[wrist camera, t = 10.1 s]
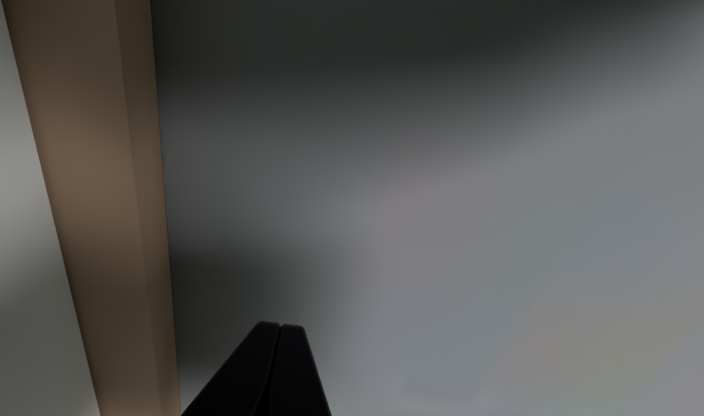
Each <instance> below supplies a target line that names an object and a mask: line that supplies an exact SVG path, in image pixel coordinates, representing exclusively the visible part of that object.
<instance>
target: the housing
mask: <svg viewBox="0 0 704 416" xmlns="http://www.w3.org/2000/svg"><path fill="white" fill-rule="evenodd" d="M0 416H100V412H99V408H98V404H97V400H96V395H95V391H94V387H93V383H92V379H91V374H90V370H89V366H88V362H87V358H86V354H85V349H84V345H83V341H82V337H81V333H80V328H79V324H78V320H77V316H76V312H75V307H74V303H73V299H72V295H71V291H70V287H69V282H68V278H67V274H66V270H65V266H64V261H63V257H62V253H61V249H60V245H59V241H58V236H57V232H56V228H55V224H54V220H53V215H52V211H51V207H50V203H49V199H48V195H47V190H46V186H45V182H44V178H43V174H42V169H41V165H40V161H39V157H38V153H37V149H36V144H35V140H34V136H33V132H32V128H31V123H30V119H29V115H28V111H27V107H26V103H25V98H24V94H23V90H22V86H21V82H20V77H19V73H18V69H17V65H16V61H15V57H14V52H13V48H12V44H11V40H10V36H9V31H8V27H7V23H6V19H5V15H4V10H3V6H2V2H1V0H0Z"/></svg>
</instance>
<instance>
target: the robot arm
mask: <svg viewBox="0 0 704 416" xmlns="http://www.w3.org/2000/svg"><path fill="white" fill-rule="evenodd" d="M181 416H332V415H331V412H330V409H329V406H328V402H327V399H326V396H325V393H324V390H323V386H322V383H321V380H320V377H319V374H318V370H317V367H316V364H315V361H314V358H313V355H312V351H311V348H310V345H309V342H308V339H307V335H306V332H305V329H304V328H303V327H302V326H298V325H290V324H283V325H282V326H280V324H279V323H274V322H266V321H260V322H258V323H257V324H256V325H255V326H254V328H253V329H252V330H251V331H250V332H249V334H248V335H247V336H246V337H245V338H244V340H243V341H242V342H241V343H240V344H239V346H238V347H237V348H236V349H235V351H234V352H233V353H232V354H231V355H230V357H229V358H228V359H227V360H226V361H225V363H224V364H223V365H222V366H221V367H220V369H219V370H218V371H217V372H216V373H215V375H214V376H213V377H212V378H211V380H210V381H209V382H208V383H207V384H206V386H205V387H204V388H203V389H202V390H201V392H200V393H199V394H198V395H197V396H196V398H195V399H194V400H193V401H192V402H191V404H190V405H189V406H188V407H187V409H186V410H185V411H184V412H183V413H182V415H181Z"/></svg>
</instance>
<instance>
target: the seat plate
mask: <svg viewBox="0 0 704 416" xmlns="http://www.w3.org/2000/svg"><path fill="white" fill-rule="evenodd" d="M1 2H2V6H3V10H4V15H5V19H6V23H7V27H8V31H9V36H10V40H11V44H12V48H13V52H14V57H15V61H16V65H17V69H18V73H19V77H20V82H21V86H22V90H23V94H24V98H25V103H26V107H27V111H28V115H29V119H30V123H31V128H32V132H33V136H34V140H35V144H36V149H37V153H38V157H39V161H40V165H41V169H42V174H43V178H44V182H45V186H46V190H47V195H48V199H49V203H50V207H51V211H52V215H53V220H54V224H55V228H56V232H57V236H58V241H59V245H60V249H61V253H62V257H63V261H64V266H65V270H66V274H67V278H68V282H69V287H70V291H71V295H72V299H73V303H74V307H75V312H76V316H77V320H78V324H79V328H80V333H81V337H82V341H83V345H84V349H85V354H86V358H87V362H88V366H89V370H90V374H91V379H92V383H93V387H94V391H95V395H96V400H97V404H98V408H99V412H100V416H181V411H180V397H179V384H178V370H177V357H176V343H175V330H174V316H173V303H172V289H171V275H170V262H169V248H168V235H167V221H166V208H165V194H164V181H163V167H162V154H161V140H160V127H159V113H158V100H157V86H156V72H155V59H154V45H153V32H152V18H151V5H150V0H1Z"/></svg>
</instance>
